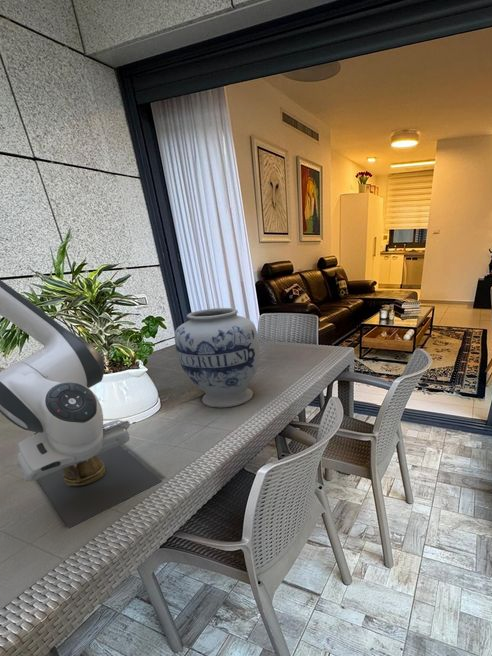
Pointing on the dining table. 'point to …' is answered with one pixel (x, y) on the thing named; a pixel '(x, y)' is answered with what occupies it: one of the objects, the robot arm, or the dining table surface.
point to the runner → (99, 487)
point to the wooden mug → (84, 472)
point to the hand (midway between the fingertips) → (79, 461)
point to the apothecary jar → (219, 355)
